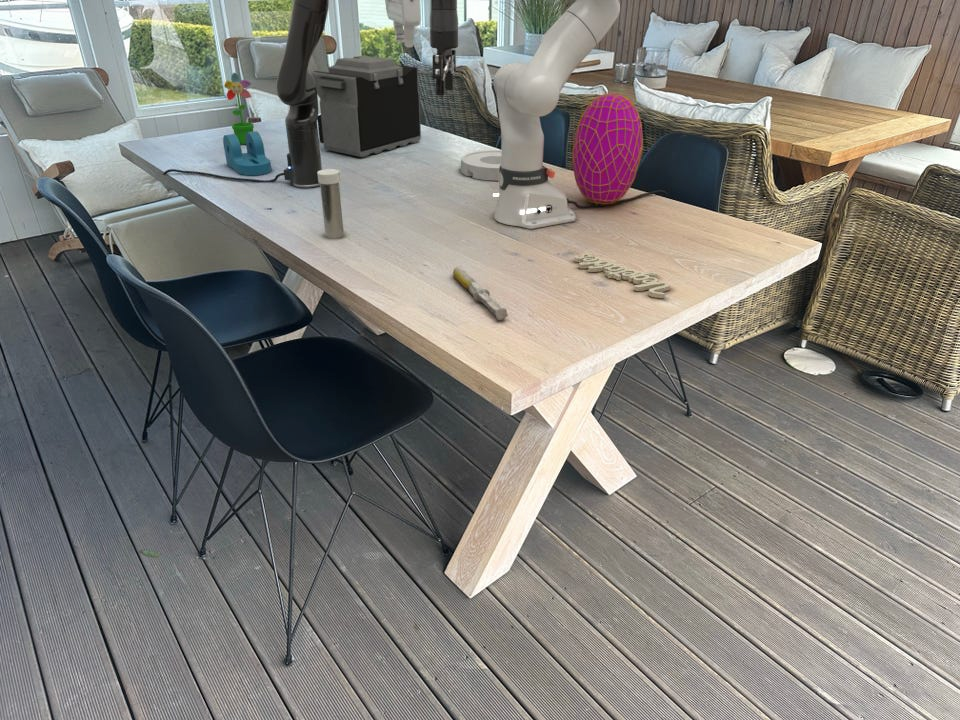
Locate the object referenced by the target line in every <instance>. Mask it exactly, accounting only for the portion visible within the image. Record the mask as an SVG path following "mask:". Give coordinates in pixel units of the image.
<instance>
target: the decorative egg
mask: <svg viewBox="0 0 960 720" xmlns="http://www.w3.org/2000/svg"><path fill="white" fill-rule="evenodd" d="M643 146H644V136H643V124H642V120H641V116H640V113H639V111H638V109H637V107H636V105H635V103H634V102H633V101H632V100H631V99H630V98H629V97H627V96H625V95H622V94H620V93H614V92H613V93H612V92H611V93H610V92H609V93H604V94H601V95H598V96H596V97H594V98H593V99H592V100H590V101H589V103H588V104H587V106H586V107H585V109H584V111H583V112H582V114H581V116H580V118H579V120H578V122H577V127H576V130H575V135H574V140H573V146H572V153H571V158H572V159H571V160H572V169H573V178H574V180H575V182H576V186H577V188H578V190H579V192H580V194H581V195H582V196H583V197H584V198H585V199H586V200H587V201H588V202H590V203H593V204H595V205H596V204H609V205H613V204H612V203H615V202H617V201H619V200H622V199H623V198H624V196H625V195H626V194H627V193H628V191H629V190H630V189H631V186H632V185H633V183H634V181H635V179H636V176H637V172H638V170H639V166H640V162H641V159H642V155H643V148H644V147H643Z"/></svg>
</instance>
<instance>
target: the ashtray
mask: <svg viewBox="0 0 960 720" xmlns="http://www.w3.org/2000/svg"><path fill="white" fill-rule="evenodd" d="M500 165H501V149H500V150H499V149H494V150H493V149H491V150H490V149H489V150H477V151H472V152H468V153H464V155H462V156H461V157H460V171H461V173H462V174H463V175H464V176H466V177H472V179H477V180H483V181H495V182H497V181H498V182H499V180H498V179H499V166H500Z"/></svg>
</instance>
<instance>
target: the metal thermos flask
mask: <svg viewBox="0 0 960 720" xmlns="http://www.w3.org/2000/svg"><path fill="white" fill-rule="evenodd" d="M319 189H320V198H321V207H322V215H323V216H322V217H323V225H324V234H325V235H324V236H325V237H326V239H332V240H333V239H335V240H336V239H340V238H342V237H345V231H344V220H343V208H342V199H341V188H340V182H338V183H335V184H321V183H320V186H319Z"/></svg>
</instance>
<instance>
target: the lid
mask: <svg viewBox="0 0 960 720" xmlns="http://www.w3.org/2000/svg"><path fill="white" fill-rule="evenodd" d="M317 174H318V182H319V183H321V184H335V183H338V182H339V183H340V182H341V175H340V170H338V169H336V168H325V169H323V170H320V171H318V172H317Z"/></svg>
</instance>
